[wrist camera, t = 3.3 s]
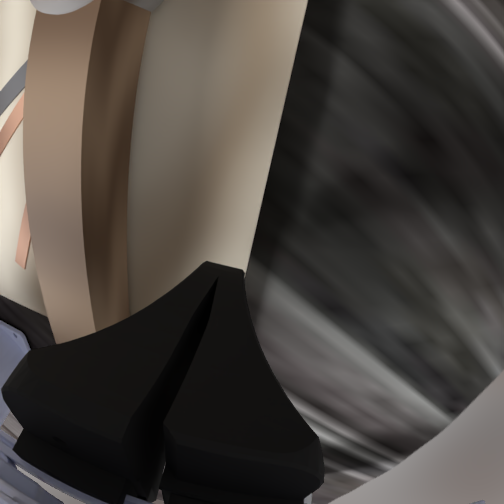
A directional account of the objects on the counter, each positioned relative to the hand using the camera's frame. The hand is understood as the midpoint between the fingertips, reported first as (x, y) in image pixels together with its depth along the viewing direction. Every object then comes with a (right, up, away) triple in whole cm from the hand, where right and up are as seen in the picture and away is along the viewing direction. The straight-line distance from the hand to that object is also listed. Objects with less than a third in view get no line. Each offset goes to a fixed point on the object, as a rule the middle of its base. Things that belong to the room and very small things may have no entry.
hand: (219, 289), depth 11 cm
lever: (-4, +4, 0) cm, 6 cm away
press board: (-8, +6, +2) cm, 10 cm away
